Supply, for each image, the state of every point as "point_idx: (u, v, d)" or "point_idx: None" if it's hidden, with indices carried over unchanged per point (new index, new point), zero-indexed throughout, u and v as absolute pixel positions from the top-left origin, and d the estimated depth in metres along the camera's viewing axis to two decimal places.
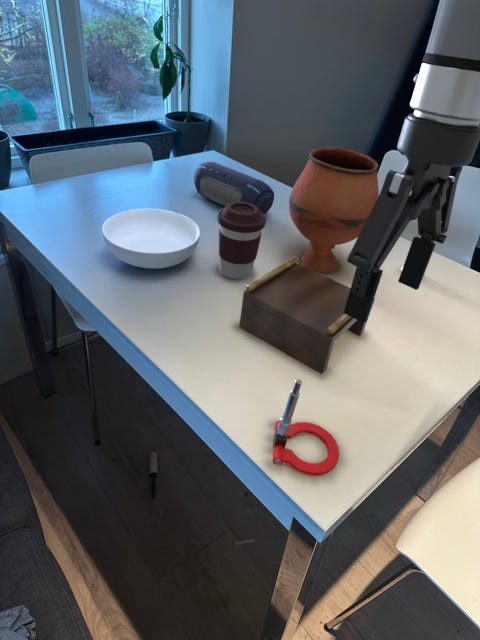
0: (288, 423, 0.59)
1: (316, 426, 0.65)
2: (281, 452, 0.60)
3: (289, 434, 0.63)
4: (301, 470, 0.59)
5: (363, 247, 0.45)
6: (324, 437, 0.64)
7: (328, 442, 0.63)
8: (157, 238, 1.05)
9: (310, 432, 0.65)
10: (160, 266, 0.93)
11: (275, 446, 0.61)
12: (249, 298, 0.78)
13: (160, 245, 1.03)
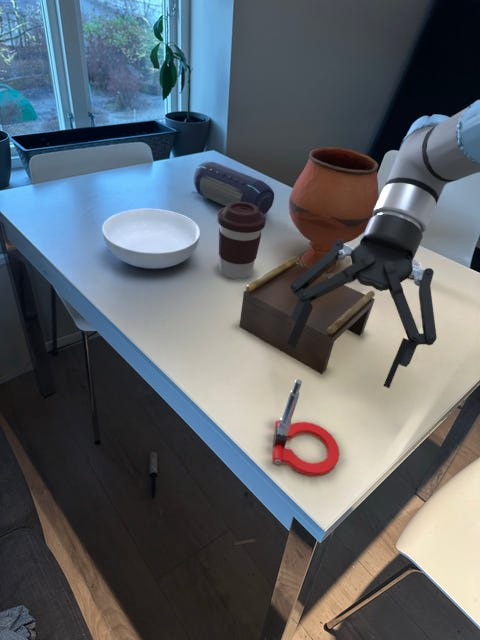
0: (288, 423, 0.59)
1: (316, 426, 0.65)
2: (281, 452, 0.60)
3: (289, 434, 0.63)
4: (301, 470, 0.59)
5: None
6: (324, 437, 0.64)
7: (328, 442, 0.63)
8: (157, 238, 1.05)
9: (310, 432, 0.65)
10: (160, 266, 0.93)
11: (275, 446, 0.61)
12: (249, 298, 0.78)
13: (160, 245, 1.03)
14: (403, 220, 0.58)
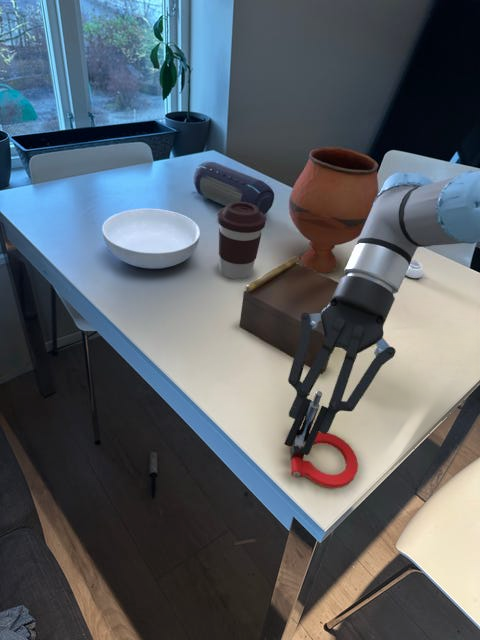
0: (307, 435, 0.58)
1: (333, 436, 0.64)
2: (300, 464, 0.59)
3: None
4: (321, 482, 0.58)
5: None
6: (341, 447, 0.63)
7: (346, 452, 0.62)
8: (157, 238, 1.05)
9: (327, 442, 0.63)
10: (160, 266, 0.93)
11: (293, 458, 0.60)
12: (249, 298, 0.78)
13: (160, 245, 1.03)
14: (373, 284, 0.56)
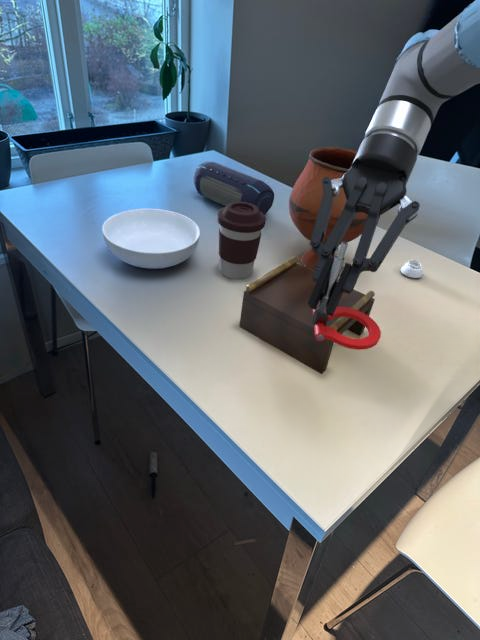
0: (330, 296, 0.57)
1: (354, 310, 0.63)
2: (323, 328, 0.59)
3: (328, 315, 0.61)
4: (345, 344, 0.57)
5: None
6: (363, 318, 0.62)
7: (368, 322, 0.62)
8: (157, 238, 1.05)
9: (348, 315, 0.63)
10: (160, 266, 0.93)
11: (316, 324, 0.59)
12: (249, 298, 0.78)
13: (160, 245, 1.03)
14: (396, 138, 0.55)
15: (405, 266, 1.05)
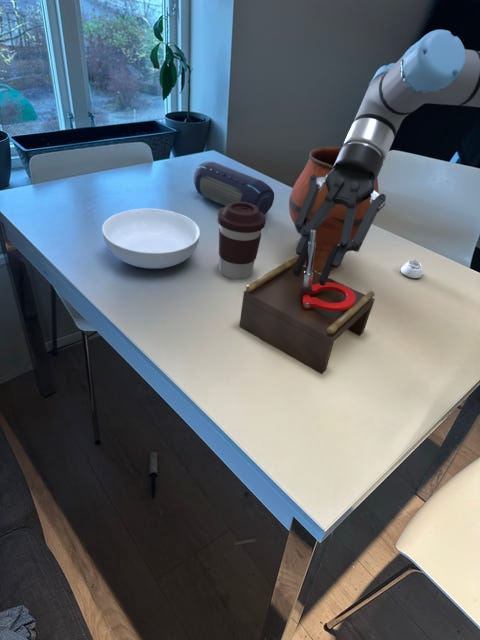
0: (311, 272, 0.75)
1: (334, 283, 0.81)
2: (309, 298, 0.76)
3: (313, 289, 0.79)
4: (326, 308, 0.74)
5: None
6: (342, 289, 0.79)
7: (345, 291, 0.78)
8: (157, 238, 1.05)
9: (330, 288, 0.80)
10: (160, 266, 0.93)
11: (303, 296, 0.77)
12: (249, 298, 0.78)
13: (160, 245, 1.03)
14: (366, 147, 0.72)
15: (405, 266, 1.05)
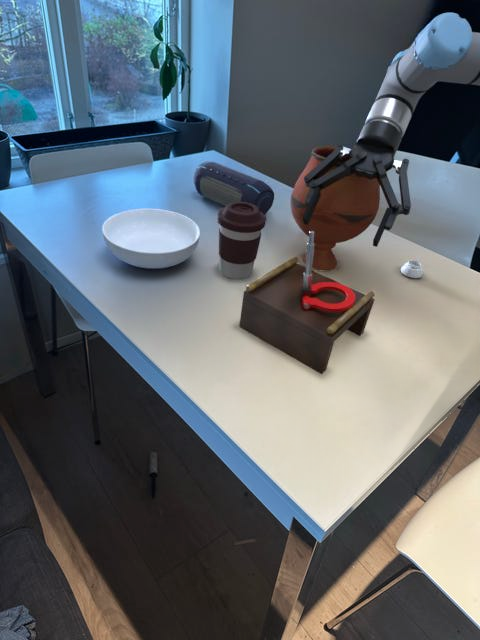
0: (310, 274, 0.75)
1: (334, 283, 0.80)
2: (308, 299, 0.76)
3: (313, 289, 0.79)
4: (326, 308, 0.74)
5: None
6: (342, 288, 0.79)
7: (345, 291, 0.78)
8: (157, 238, 1.05)
9: (330, 287, 0.80)
10: (160, 266, 0.93)
11: (303, 297, 0.77)
12: (249, 298, 0.78)
13: (160, 245, 1.03)
14: (387, 123, 0.80)
15: (405, 266, 1.05)
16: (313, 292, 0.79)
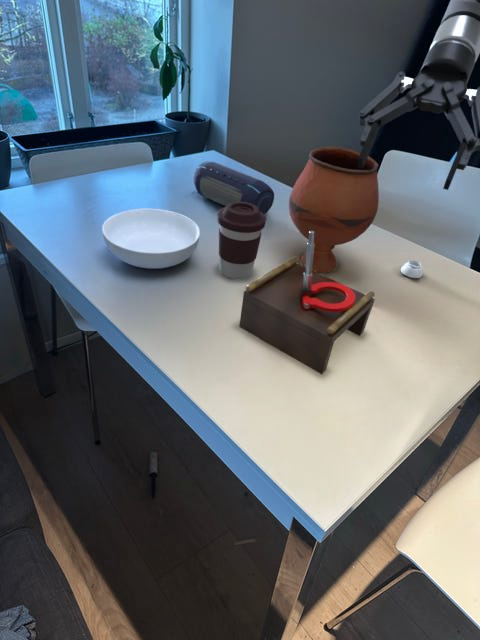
0: (310, 274, 0.75)
1: (334, 283, 0.80)
2: (308, 299, 0.76)
3: (313, 289, 0.79)
4: (326, 308, 0.74)
5: None
6: (342, 288, 0.79)
7: (345, 291, 0.78)
8: (157, 238, 1.05)
9: (330, 287, 0.80)
10: (160, 266, 0.93)
11: (303, 297, 0.77)
12: (249, 298, 0.78)
13: (160, 245, 1.03)
14: (460, 44, 0.68)
15: (405, 266, 1.05)
16: (313, 292, 0.79)
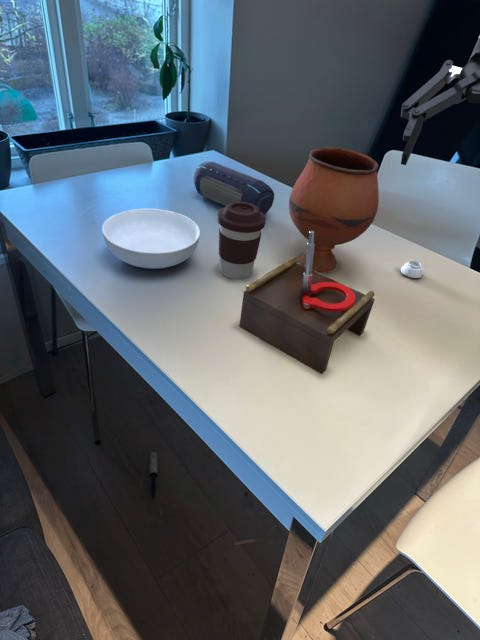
0: (310, 274, 0.75)
1: (334, 283, 0.80)
2: (308, 299, 0.76)
3: (313, 289, 0.79)
4: (326, 308, 0.74)
5: None
6: (342, 288, 0.79)
7: (345, 291, 0.78)
8: (157, 238, 1.05)
9: (330, 287, 0.80)
10: (160, 266, 0.93)
11: (303, 297, 0.77)
12: (249, 298, 0.78)
13: (160, 245, 1.03)
14: None
15: (405, 266, 1.05)
16: (313, 292, 0.79)
